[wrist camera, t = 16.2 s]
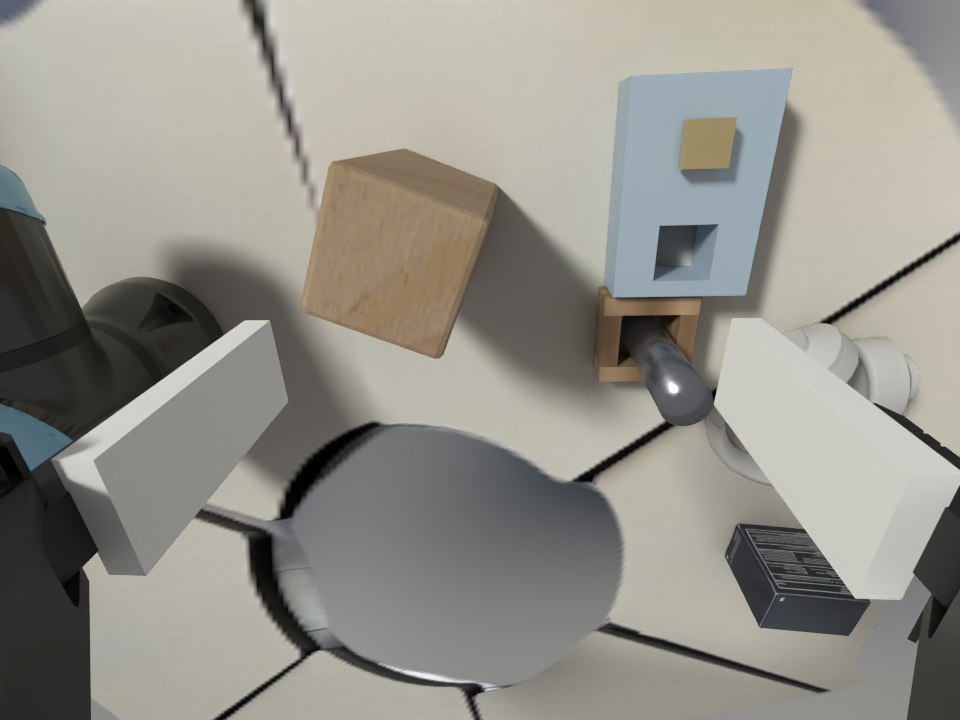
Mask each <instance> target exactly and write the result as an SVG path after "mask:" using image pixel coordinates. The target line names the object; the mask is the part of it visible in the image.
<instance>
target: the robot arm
mask: <svg viewBox="0 0 960 720" xmlns="http://www.w3.org/2000/svg"><path fill="white" fill-rule="evenodd" d="M46 224H47V223H46V220H45V218H44V217H43V216H42V215H41V214H39V213H38V211H37V209H36V207H35V205H34V203H33V201H32V199H31V197H30V195H29V193H28V191H27V189H26V187H25V185H24V183H23V182H22V180H21V179H20V178H19V177H18V176H17V175H16V174H15V173H14V172H12V171H11V170H9V169H8V168H6V167H4V166H2V165H0V720H91V690H90V611H89V580H88V578H87V576H86V574H85V572H84V570H83V568H82V567H83V566H84V565H85V564H86V563H87V562H88V561H89V560H90V559H91V558H92V557H93V556H94V555H95V554H96V553H97V552H98V554H99V556H100V558H101V560H102V562H103V564H104V566H105V568H106V570H107V572H108V574H110V575H140V576H146V575H147V574H148V573H149V571H150V570H151V569H152V568H153V567H154V565H155V564H156V563H157V562H158V560H159V559H160V558H161V557H162V556H163V554H164V553H165V552H166V551H167V549H168V548H169V547H170V546H171V545H172V543H173V542H174V541H175V540H176V538H177V537H178V536H179V535H180V534H181V532H182V531H183V530H184V529H185V527H186V526H187V525H188V524H189V523H190V521H191V520H192V519H193V518H194V516H195V515H196V514H197V513H198V512H199V510H200V509H201V508H202V507H203V506H204V504H205V503H206V502H207V501H208V499H209V498H210V497H211V496H212V495H213V493H214V492H215V491H216V490H217V488H218V487H219V486H220V485H221V484H222V482H223V481H224V480H225V479H226V477H227V476H228V475H229V474H230V473H231V471H232V470H233V469H234V468H235V466H236V465H237V464H238V463H239V462H240V460H241V459H242V458H243V457H244V455H245V454H246V453H247V452H248V451H249V449H250V448H251V447H252V446H253V444H254V443H255V442H256V441H257V440H258V438H259V437H260V436H261V435H262V433H263V432H264V431H265V430H266V429H267V427H268V426H269V425H270V424H271V422H272V421H273V420H274V419H275V418H276V416H277V415H278V414H279V413H280V411H281V410H282V409H283V408H284V407H285V405H286V404H287V403H288V402H289V401H288V397H287V392H286V388H285V384H284V379H283V375H282V371H281V366H280V362H279V357H278V353H277V349H276V344H275V340H274V336H273V331H272V327H271V323H270V320H245V321H243V322H242V323H240V324H239V325H238V326H236V327H235V328H233V329H232V330H231V331H229V332H228V333H226V334H225V335H224V336H223V334H222V332H221V329H220V327H219V326H218V324H217V322H216V320H215V319H214V317H213V316H212V315H211V313H210V312H209V311H208V310H207V309H206V308H205V307H204V305H203V304H201V303H200V302H199V301H198V300H197V299H196V298H195V297H193V296H192V295H191V294H189V293H188V292H186V291H185V290H183V289H181V288H179V287H178V286H176V285H173V284H171V283H168V282H166V281H163V280H159V279H155V278H147V277H135V278H129V279H125V280H122V281H120V282H117V283H114V284H112V285H109V286H107V287H105V288H103V289H102V290H100V291H99V292H97V293H96V294H95V295H94V296H93V297H92V298H91V299H90V300H89V301H88V302H87V303H86V304H85V305H84V306H83V307H82V308H81V307H80V305H79V303H78V300H77V298H76V296H75V294H74V292H73V289H72V287H71V285H70V283H69V280H68V278H67V276H66V274H65V271H64V269H63V267H62V265H61V262H60V260H59V258H58V256H57V254H56V251H55V249H54V247H53V245H52V242H51V240H50V238H49V236H48V233H47V231H46V229H45V227H44V226H45V225H46ZM714 406H715V407H716V408H717V410H718V411H719V412H720V414H721V415H722V417H723V418H724V419H725V421H726V422H727V423H728V425H729V426H730V427H731V429H732V430H733V432H734V433H735V434H736V436H737V437H738V438H739V440H740V441H741V443H742V444H743V445H744V447H745V448H746V449H747V451H748V452H749V454H750V455H751V456H752V458H753V459H754V460H755V462H756V463H757V464H758V466H759V467H760V469H761V470H762V471H763V473H764V474H765V475H766V477H767V478H768V480H769V481H770V482H771V484H772V485H773V486H774V488H775V489H776V491H777V492H778V493H779V495H780V496H781V497H782V499H783V500H784V502H785V503H786V504H787V506H788V507H789V508H790V510H791V511H792V512H793V514H794V515H795V517H796V518H797V519H798V521H799V522H800V523H801V525H802V526H803V528H804V529H805V530H806V532H807V533H808V534H809V536H810V537H811V539H812V540H813V541H814V543H815V544H816V545H817V547H818V548H819V549H820V551H821V552H822V554H823V555H824V556H825V558H826V559H827V560H828V562H829V563H830V565H831V566H832V567H833V569H834V570H835V571H836V573H837V574H838V576H839V577H840V578H841V580H842V581H843V582H844V584H845V585H846V586H847V588H848V589H849V591H850V592H851V593H852V595H853V596H854V597H855V599H882V600H902V598H903V596H904V594H905V592H906V590H907V588H908V586H909V584H910V582H911V580H912V578H913V576H914V574H915V575H916V577H918V579H919V580H920V581H921V582H922V583H923V584H924V585H925V586H926V588H927V589H928V590H929V591H930V592H931V593H932V594H931V596H930V598H929V600H928V602H927V604H926V605H925V607H924V609H923V611H922V613H921V615H920V617H919V619H918V620H917V622H916V624H915V626H914V628H913V629H912V632H911V633H910V635H909V637H908V639H909V640H911V641H913V642H915V643H916V642H917V641H918V639H919V643H918V649H917V656H916V662H915V670H914V676H913V682H912V690H911V696H910V702H909V709H908V716H907V720H960V457H959V456H957V455H956V454H954V453H953V452H952V451H950V450H949V449H948V448H946V447H941V445H940V444H941V443H939V442H938V441H937V440H935V439H934V438H933V437H931V436H930V435H929V434H924V433H923V430H922V429H920V428H919V427H918V426H916V425H915V424H914V423H912V422H911V421H910V420H908V419H907V418H905V417H904V416H903V415H900V414H898V413H896V412H894V411H892V410H890V409H888V408H885V407H883V406H881V405H879V404H877V403H871V402H870V401H869V400H867V399H866V398H865V397H863V396H862V395H861V394H859V393H858V392H857V391H856V390H854V389H853V388H852V387H850V386H849V385H848V384H846V383H845V382H844V381H842V380H841V379H840V378H839V377H837V376H836V375H835V374H833V373H832V372H831V371H829V370H828V369H827V368H825V367H824V366H823V365H822V364H820V363H819V362H818V361H816V360H815V359H814V358H812V357H811V356H810V355H808V354H807V353H806V352H804V351H803V350H802V349H801V348H799V347H798V346H797V345H795V344H794V343H793V342H791V341H790V340H789V339H787V338H786V337H785V336H784V335H782V334H781V333H780V332H778V331H777V330H776V329H774V328H773V327H772V326H770V325H769V324H768V323H766V322H765V321H764V320H763V319H761V318H732V320H731V325H730V330H729V335H728V339H727V344H726V349H725V354H724V358H723V363H722V368H721V373H720V378H719V382H718V387H717V392H716V397H715V401H714Z"/></svg>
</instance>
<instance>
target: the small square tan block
mask: <svg viewBox="0 0 960 720" xmlns="http://www.w3.org/2000/svg"><path fill="white" fill-rule="evenodd" d="M736 122H737V117H730V118H706V119H684V122H683V129H682V137H681V145H680V153H679V160H678V169H711V168H729V163H730V157H731V151H732V146H733V140H734V134H735V128H736Z"/></svg>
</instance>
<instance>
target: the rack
mask: <svg viewBox="0 0 960 720" xmlns="http://www.w3.org/2000/svg"><path fill="white" fill-rule="evenodd" d="M701 300H702V297H700V296H678V297H613V296H612V295H611V293H610V291H609V290H608V288H607V287H599V293H598V307H597V322H596V336H595V350H594V364H593V365H594V368H595V371H596V374H597V377H598V380H599V382H644V380H643V378H642V376H641V374H640V372H639V370H638V368H637V366H636V364H635V362H634V360H633V358H632V356H631V355H630V353H629V351H619V341H620V330H621V320H622V316H635V315H667V320H666V327H665V331H666V332H667V333H668V335H669V336H670V337H671V339H672V340H673V341H674V343H675V344H676V345H677V347H678V348H679V349H680V351H681V352H682V353H683V355H684V356H685V358H686V359H687V360H688V362H689V363H690V364H691V360H692V354H693V348H694V342H695V336H696V330H697V324H698V318H699V312H700V306H701Z"/></svg>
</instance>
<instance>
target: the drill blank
mask: <svg viewBox="0 0 960 720" xmlns="http://www.w3.org/2000/svg"><path fill="white" fill-rule="evenodd" d="M620 335H621V337H622V339H623V341H624V343H625V345H626V347H627V349H628V351H629V353H630V355H631V356H632V358H633V360H634V362H635V364H636V366H637V368H638V370H639V372H640V374H641V376H642V378H643V380H644V382H645V384H646V386H647V388H648V390H649V392H650V394H651V396H652V398H653V400H654V401H655V403H656V405H657V407H658V409H659V411H660V413H661V415H662V417H663V418H664V419H665V420H666V421H667V422H669V423H671V424H673V425H677V426H688V425H692V424H695V423H697V422H699V421H701V420H702V419H704V418H705V417H706V416H707V415H708V414H709V412H710V410H711V408H712V405H713V396H712V393H711V391H710V390H709V388H708V387H707V386H706V384H705V383H704V382H703V380H702V379H701V378H700V376H699V375H698V374H697V372H696V371H695V370H694V368H693V367H692V366H691V364H690V363H689V362H688V360H687V359H686V358H685V356H684V355H683V353H682V352H681V351H680V349H679V348H678V347H677V345H676V344H675V343H674V341H673V340H672V339H671V337H670V336H669V335H668V333H667V332H666V331H665V329H664V328H663V327H662V325H661V324H660V322H659V321H658V320H657V318H656V317H655V316H654V315H635V316H624V317H623V318H622V320H621V330H620Z"/></svg>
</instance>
